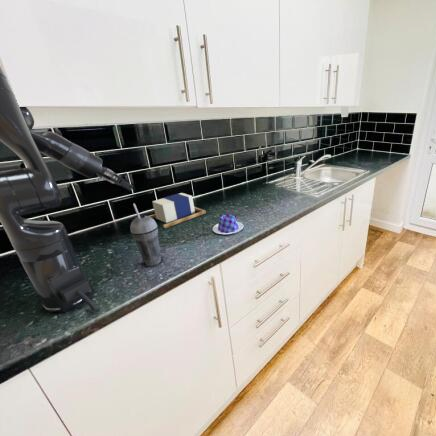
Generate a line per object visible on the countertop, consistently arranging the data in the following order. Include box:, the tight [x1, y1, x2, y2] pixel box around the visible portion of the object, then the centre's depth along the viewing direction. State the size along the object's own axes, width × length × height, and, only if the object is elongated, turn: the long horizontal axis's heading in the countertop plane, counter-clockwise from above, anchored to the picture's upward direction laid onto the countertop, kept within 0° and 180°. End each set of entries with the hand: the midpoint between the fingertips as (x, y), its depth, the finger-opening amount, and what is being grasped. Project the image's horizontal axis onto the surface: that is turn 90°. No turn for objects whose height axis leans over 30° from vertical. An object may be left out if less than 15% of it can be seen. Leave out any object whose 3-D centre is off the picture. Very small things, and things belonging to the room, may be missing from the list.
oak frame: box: [148, 206, 207, 229], centre depth 113 cm, size 20×15×1 cm
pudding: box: [212, 213, 245, 235], centre depth 101 cm, size 12×12×5 cm
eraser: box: [151, 192, 196, 224], centre depth 113 cm, size 14×8×8 cm, turn 145°
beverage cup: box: [130, 203, 162, 267], centre depth 77 cm, size 7×7×20 cm
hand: (131, 187), depth 96 cm, fingers closed
